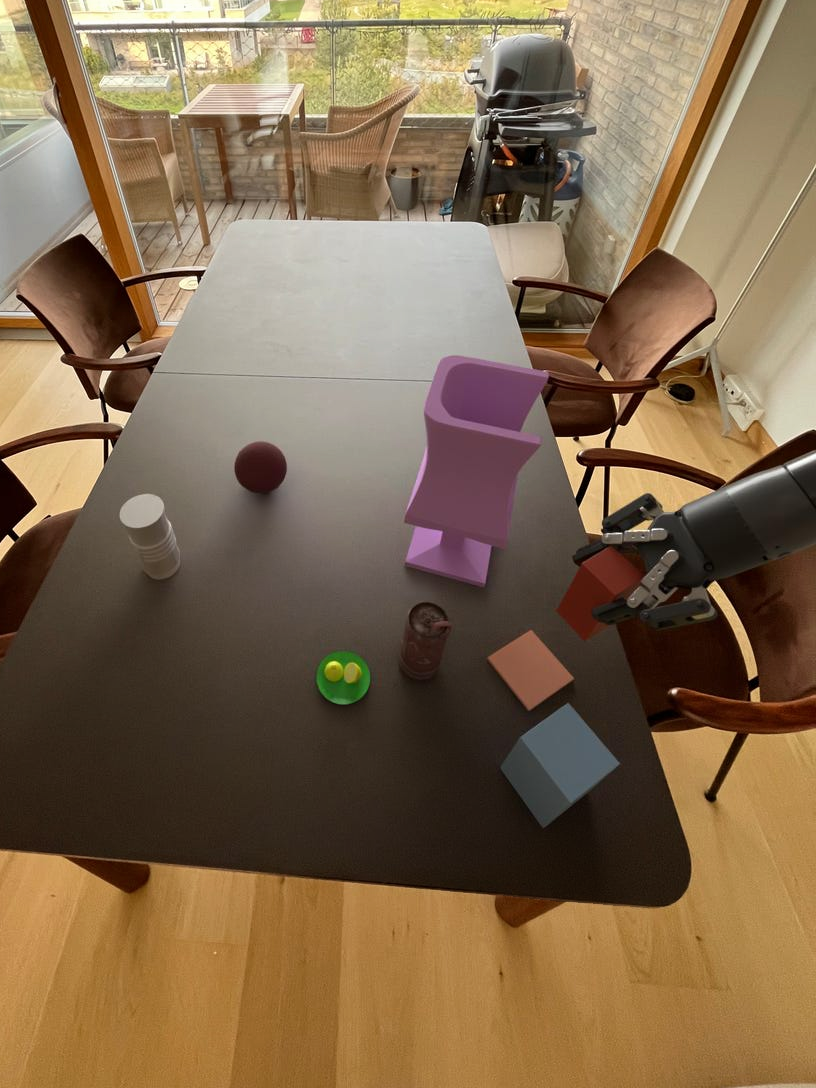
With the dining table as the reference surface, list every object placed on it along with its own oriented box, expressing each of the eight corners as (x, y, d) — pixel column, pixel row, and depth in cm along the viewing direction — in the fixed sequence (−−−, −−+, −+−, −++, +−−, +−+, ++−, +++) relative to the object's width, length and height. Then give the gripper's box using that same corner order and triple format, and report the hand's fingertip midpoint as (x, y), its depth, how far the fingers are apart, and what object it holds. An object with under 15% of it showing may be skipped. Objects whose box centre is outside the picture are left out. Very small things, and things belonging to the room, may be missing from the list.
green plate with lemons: (365, 649, 88) (366, 641, 86) (374, 702, 83) (375, 694, 81) (314, 656, 88) (313, 647, 86) (319, 709, 82) (318, 701, 80)
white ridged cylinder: (133, 569, 99) (109, 515, 88) (163, 542, 103) (143, 487, 92) (161, 589, 96) (139, 535, 85) (191, 560, 100) (173, 505, 89)
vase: (488, 593, 95) (542, 445, 70) (397, 568, 99) (418, 418, 74) (500, 522, 105) (550, 371, 81) (417, 502, 109) (441, 351, 84)
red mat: (573, 680, 85) (574, 678, 84) (528, 711, 82) (529, 710, 81) (530, 631, 90) (531, 629, 90) (486, 659, 87) (487, 657, 87)
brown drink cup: (442, 685, 84) (456, 641, 74) (399, 684, 84) (407, 640, 74) (437, 646, 89) (450, 599, 79) (396, 645, 89) (404, 599, 79)
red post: (612, 623, 65) (645, 576, 58) (584, 641, 64) (615, 595, 57) (582, 593, 68) (611, 545, 61) (555, 610, 66) (581, 563, 59)
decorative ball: (280, 508, 108) (276, 472, 101) (230, 499, 110) (222, 463, 102) (294, 470, 115) (291, 434, 108) (247, 462, 116) (241, 427, 109)
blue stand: (588, 792, 74) (620, 763, 66) (543, 828, 72) (570, 803, 63) (543, 736, 79) (568, 702, 71) (499, 768, 76) (520, 737, 68)
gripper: (701, 446, 56) (549, 520, 64) (782, 572, 46) (589, 641, 54) (729, 481, 60) (581, 547, 68) (809, 605, 50) (625, 664, 58)
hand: (585, 588), depth 61 cm, fingers closed on red post, 6 cm apart
